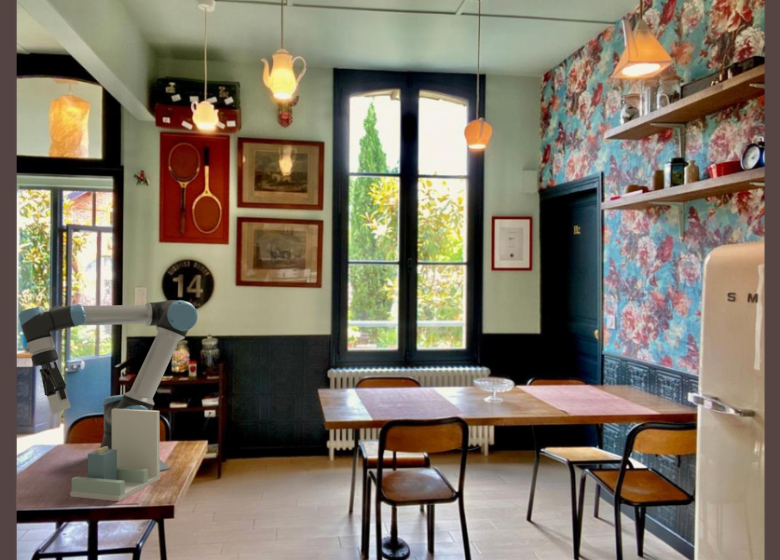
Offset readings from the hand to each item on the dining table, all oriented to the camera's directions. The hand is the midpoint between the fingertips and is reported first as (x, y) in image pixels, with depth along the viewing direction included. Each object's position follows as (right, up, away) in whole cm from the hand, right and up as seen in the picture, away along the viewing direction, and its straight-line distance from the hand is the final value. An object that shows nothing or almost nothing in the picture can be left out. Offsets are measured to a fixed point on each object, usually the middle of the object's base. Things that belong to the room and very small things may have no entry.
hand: (61, 411), depth 188 cm
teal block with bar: (+18, -22, -8) cm, 30 cm away
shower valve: (+25, -25, +12) cm, 37 cm away
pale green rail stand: (+22, -24, -6) cm, 33 cm away
